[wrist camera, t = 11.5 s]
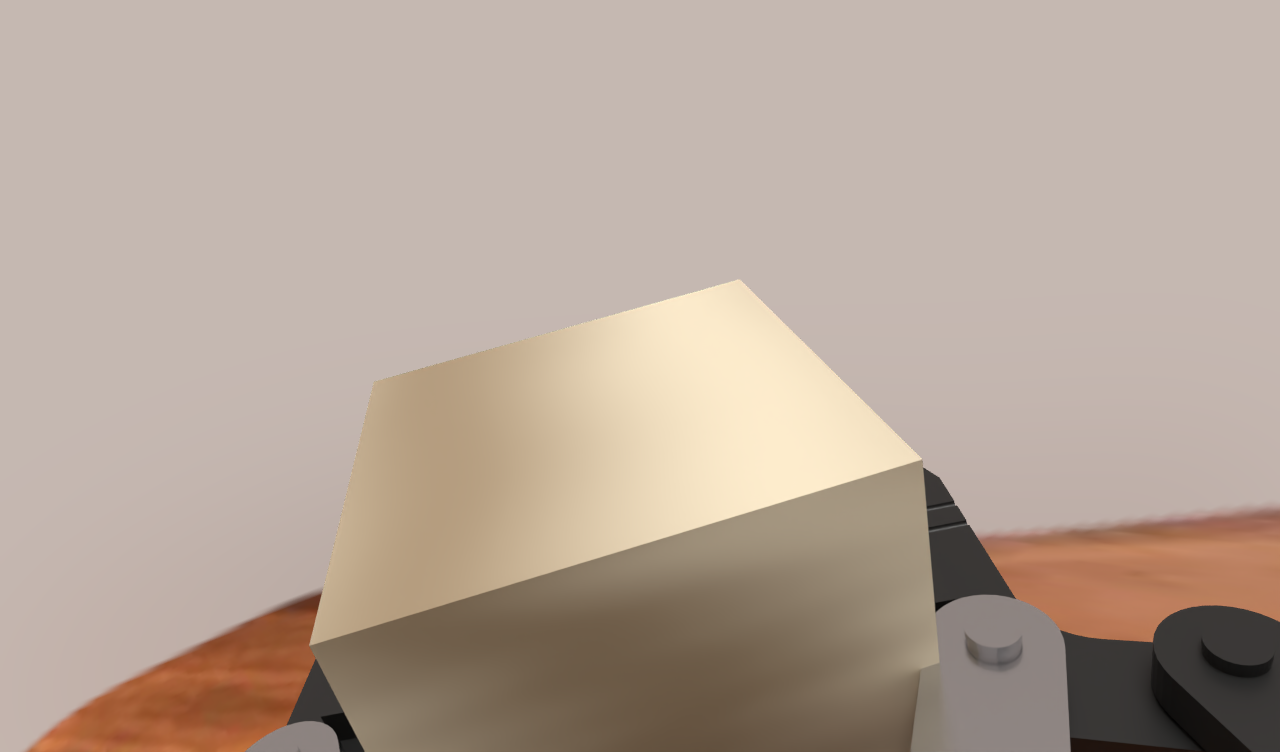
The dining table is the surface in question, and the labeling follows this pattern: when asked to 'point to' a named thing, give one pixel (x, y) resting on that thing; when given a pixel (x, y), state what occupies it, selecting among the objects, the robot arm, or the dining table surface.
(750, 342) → the birch block
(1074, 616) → the dining table surface
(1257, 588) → the dining table surface
